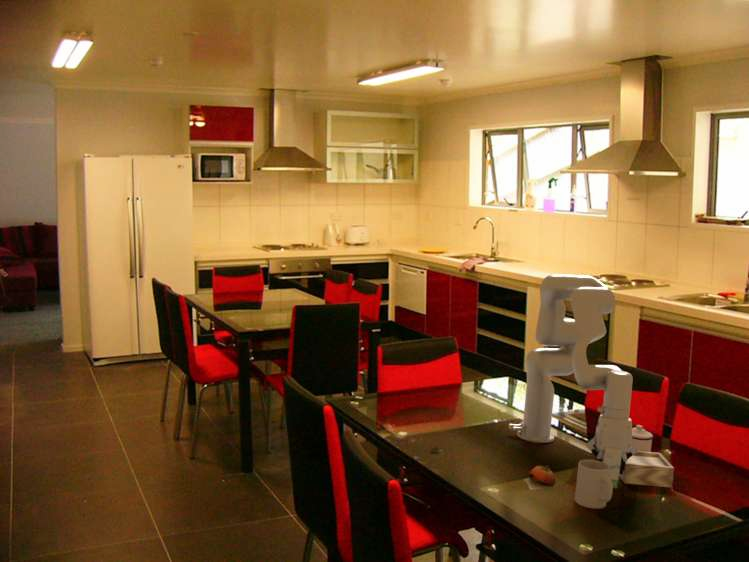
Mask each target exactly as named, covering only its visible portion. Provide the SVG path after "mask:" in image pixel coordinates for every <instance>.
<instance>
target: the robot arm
mask: <svg viewBox="0 0 749 562" xmlns="http://www.w3.org/2000/svg"><path fill="white" fill-rule="evenodd" d="M539 294H540V296H539V298H540V306H539V311H538V312H539V313H538V316H537V322H536V328H535V340H536V342H537V343H538V344H539V345H541V346H545V347H539V348H534V349H531V350H530V351H528V353H527V354H526V357H525V366H526V367H525V370H526V386H525V387H526V388H525V399H524V408H523V409H524V410H523V419H522V420H523V421H521V423H517V424H516V423H509V424H508V429H509V430H513V431H515V432H517V438H520V439H521V440H523V441H527V442H530V443H531V442H532V443H535V444H536V443H537V444H545V443H546V444H548V443H552V442H554V440H555V435H554V434H553V433H551V430H552V429H551V428H552V418H553V410H554V409H553V408H554V398H555V388H554V384H553V383H552V380H551V379H550V377H560V376H561V377H564V376H565V377H566V376H567V377H568V376H570V375H572V374H573V376H574V378H575V382H576V383H577V385H578V387H580V388H581V389H582V390H585V391H600V390H602V391H604V394H603V404H602V406H600V407H599V406H598V408H597V412H598V413H600V415H599V417H598V420H597V424H596V428H595V435H594V437H593V438H591V439H590V440H589V441H588V442H586V443H585V446H586V448H588V450H589V451H590V452H591V453H592V454H593V455H594V456H595V460H596V461H601V462H603V460H602V455H603V453H604V451H605V448H606V447H609V448H615V449H622V457H621V465H620V472H619V473H620V474H623V471H625V463H626V461H627V460H628V459H629V458H630V457H631V456H632V455H633V454H635V453H636V452H638V449H637V447H636V446H635V445H634V443H633V442H632V428H633V423H632V422H633V421H632V419H631V418H630V417H629V416H630V412H631V411H630V410H631V400H632V392H633V391H632V389H633V383H634V382H633V380H634V379H633V375H632V374H631V373H630V372H628V371H624V370H622V368H620V367H619V366H617V365H613V364H589V362H588V358H587V348H588V345H589V344H593V343H594V342H596V341H598V340H600V339H602V338H603V337H605V336H606V334H607V328H606V324H605V321H604V317H603V314H604V315H605V314H611V313H612V312H613V311H614V310H615V308H616V304H617V302H616V295H614V293H613V291H612V290H611V289H610V287H608V286H607V285H605V284H604V283H603V282H602V281H600V280H598V279H596V277H593V276H591V275H586V274H585V275H583V274H567V273H566V274H561V273H560V274H559V273H558V274H557V273H556V274H549V275H547V276H545V277H544V278H543V279H542V282H541V284H540V288H539ZM565 301H569V303H570V307H571V310H572V314H573V318H574V319H573V318H565V315H566V309H567V308H566V304H565ZM553 347H554V348H553ZM557 347H558V348H557ZM594 445H595V447H596V448H597V449H595V447H594ZM631 448H632V449H631Z"/></svg>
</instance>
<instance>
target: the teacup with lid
mask: <svg viewBox="0 0 749 562" xmlns="http://www.w3.org/2000/svg"><path fill="white" fill-rule="evenodd" d="M653 439H654V435H653V434H652V433H651V432H649V431H647V430H646V429H645V428H643V425H640V424H636V425H635V427H632V442H633V443H634V445H635V446H636V447H637V449H638V451H644V452H652V445H653V444H652V443H653ZM631 449H632V448H631Z"/></svg>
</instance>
